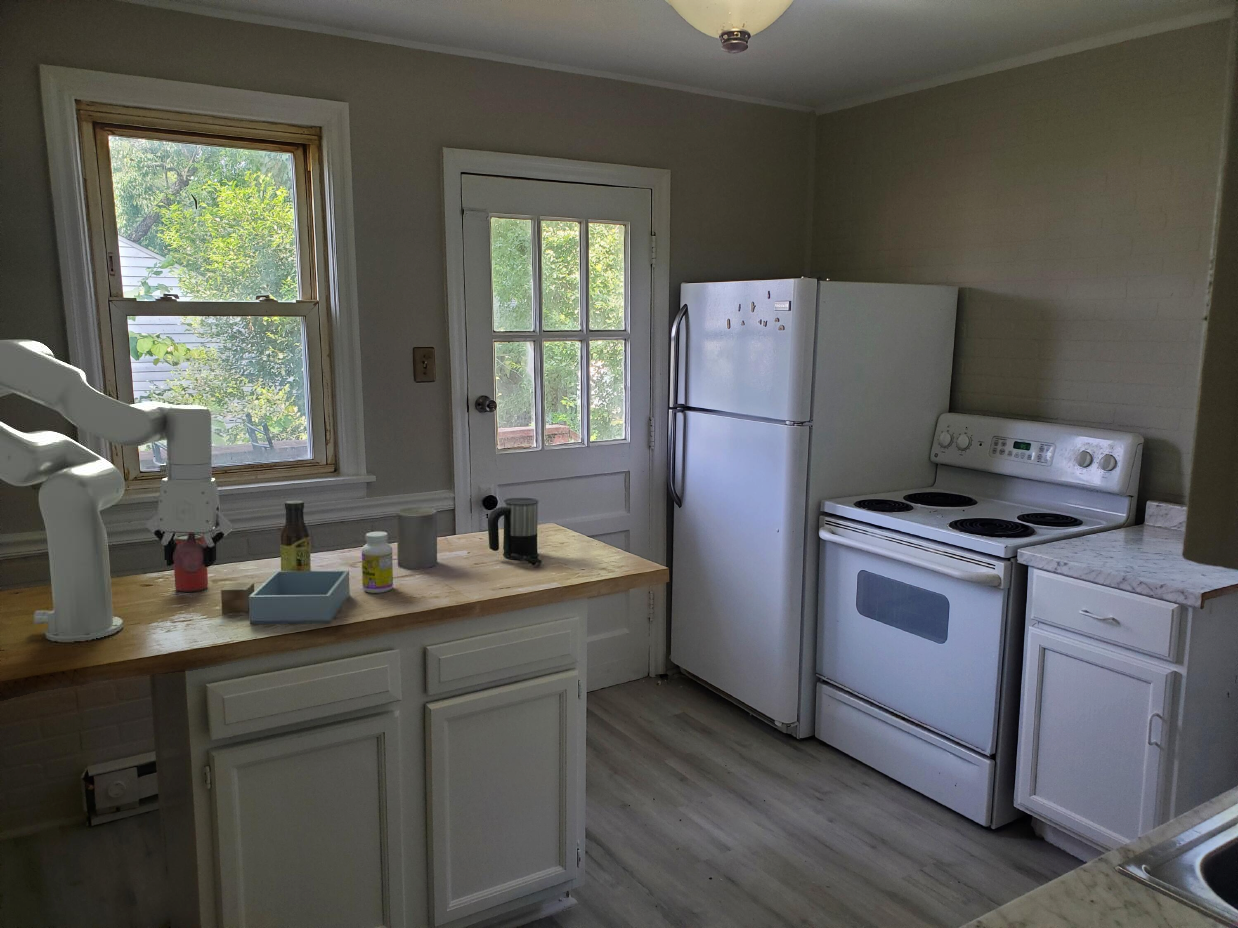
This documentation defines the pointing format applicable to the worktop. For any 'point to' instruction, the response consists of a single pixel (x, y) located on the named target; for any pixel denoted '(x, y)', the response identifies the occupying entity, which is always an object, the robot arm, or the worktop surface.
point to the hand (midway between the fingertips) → (190, 563)
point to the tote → (299, 597)
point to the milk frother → (516, 529)
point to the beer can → (187, 580)
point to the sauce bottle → (295, 539)
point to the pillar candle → (416, 537)
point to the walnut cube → (236, 597)
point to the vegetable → (189, 555)
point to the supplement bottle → (377, 563)
